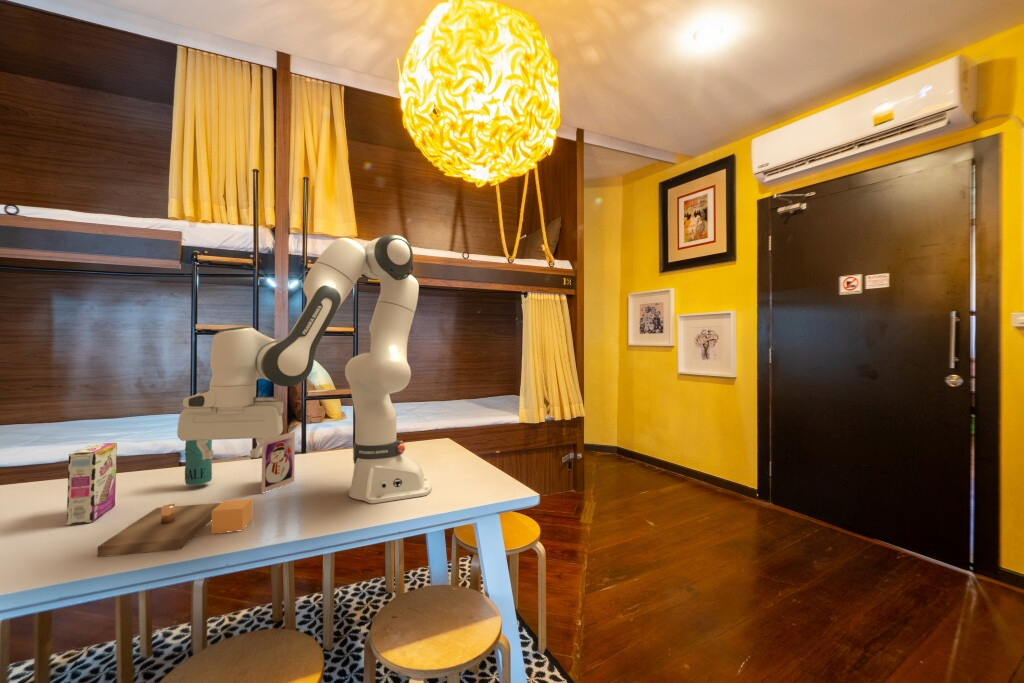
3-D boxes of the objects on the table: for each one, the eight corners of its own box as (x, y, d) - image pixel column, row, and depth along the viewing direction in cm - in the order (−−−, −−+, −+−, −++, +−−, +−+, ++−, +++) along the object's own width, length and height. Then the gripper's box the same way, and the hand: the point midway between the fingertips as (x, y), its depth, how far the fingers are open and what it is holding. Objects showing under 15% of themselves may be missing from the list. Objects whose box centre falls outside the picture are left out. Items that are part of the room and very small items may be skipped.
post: (177, 519, 94) (177, 503, 94) (171, 523, 92) (171, 507, 92) (164, 520, 94) (164, 504, 94) (158, 524, 91) (158, 508, 91)
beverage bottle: (207, 481, 126) (208, 415, 126) (216, 486, 122) (216, 417, 122) (180, 487, 120) (181, 418, 120) (189, 492, 116) (189, 420, 117)
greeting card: (264, 494, 116) (264, 440, 116) (243, 491, 118) (244, 438, 118) (296, 481, 126) (297, 431, 127) (277, 478, 129) (277, 430, 129)
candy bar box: (94, 523, 97) (95, 452, 97) (65, 526, 95) (66, 454, 95) (117, 505, 107) (118, 441, 107) (91, 508, 105) (92, 443, 105)
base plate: (222, 510, 104) (223, 502, 104) (181, 548, 85) (181, 538, 85) (156, 515, 101) (156, 507, 101) (97, 557, 81) (97, 546, 81)
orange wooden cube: (252, 520, 99) (252, 498, 99) (242, 531, 93) (242, 508, 93) (223, 522, 97) (223, 501, 97) (211, 534, 91) (211, 511, 91)
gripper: (287, 395, 101) (286, 452, 100) (189, 396, 96) (187, 457, 95) (279, 398, 95) (278, 459, 94) (174, 399, 90) (172, 464, 89)
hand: (231, 458), depth 95 cm, fingers open, 8 cm apart
